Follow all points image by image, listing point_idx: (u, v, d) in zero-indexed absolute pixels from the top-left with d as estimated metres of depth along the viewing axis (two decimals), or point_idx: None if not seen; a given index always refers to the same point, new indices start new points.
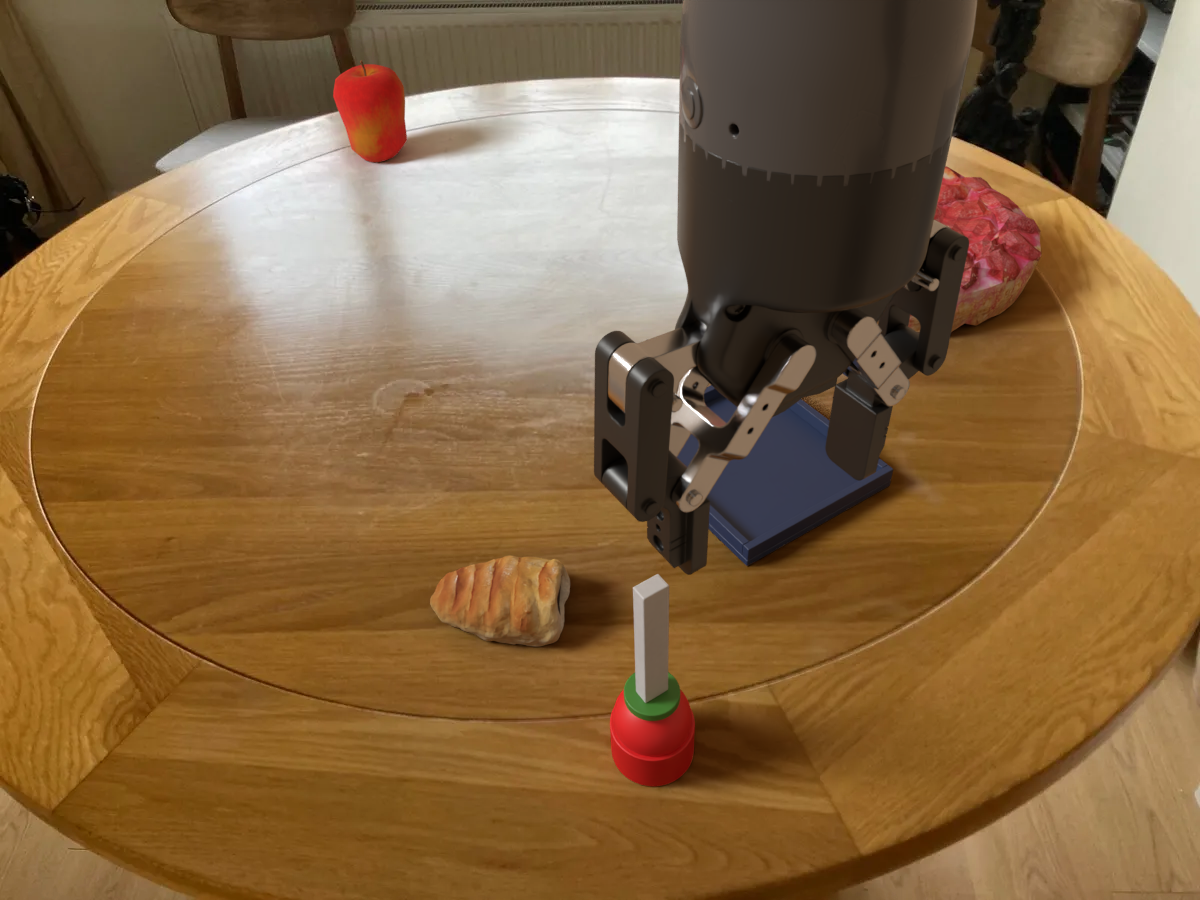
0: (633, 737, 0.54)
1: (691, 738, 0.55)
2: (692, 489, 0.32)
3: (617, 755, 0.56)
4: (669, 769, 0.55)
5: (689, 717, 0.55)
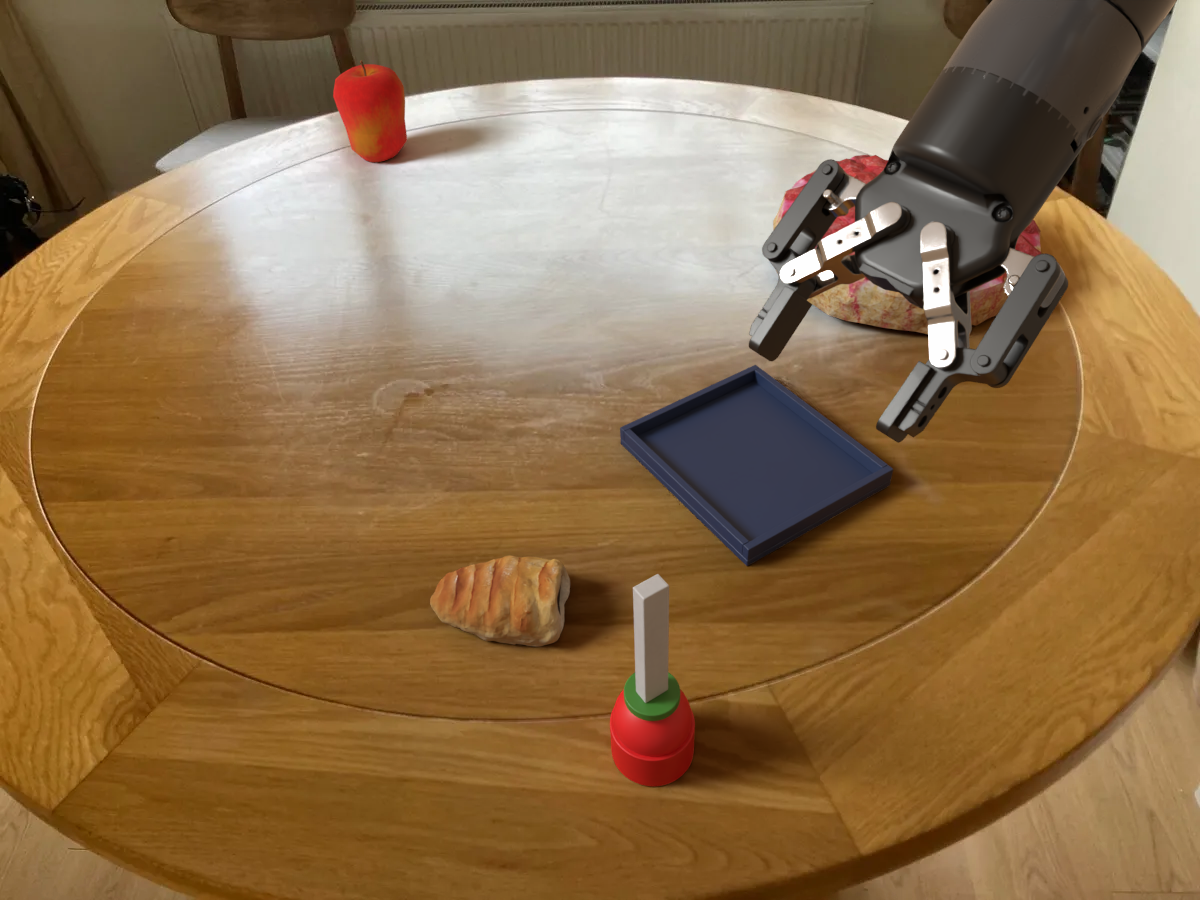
0: (633, 737, 0.54)
1: (691, 738, 0.55)
2: (794, 263, 0.50)
3: (617, 755, 0.56)
4: (669, 769, 0.55)
5: (689, 717, 0.55)
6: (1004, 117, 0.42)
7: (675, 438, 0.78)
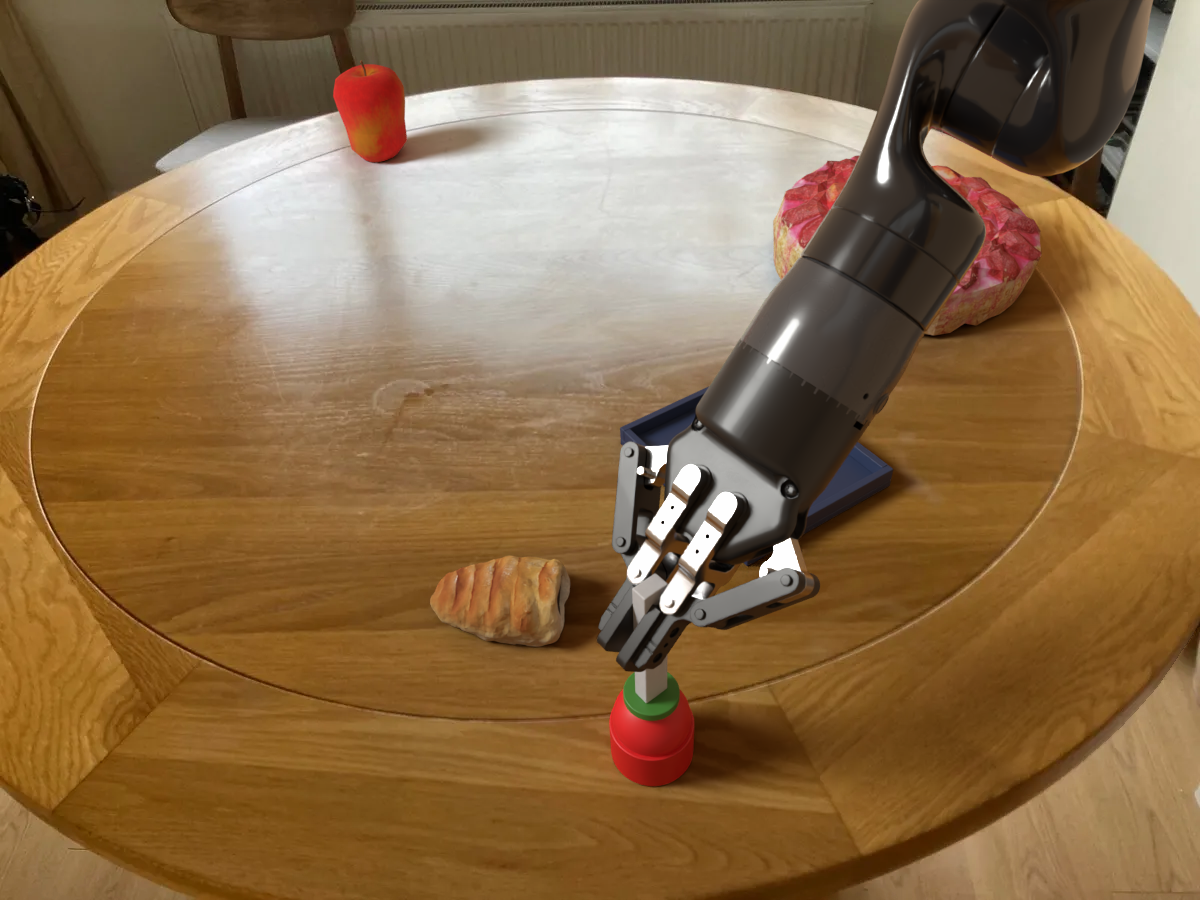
0: (636, 738, 0.54)
1: (692, 734, 0.56)
2: (635, 563, 0.49)
3: (619, 758, 0.56)
4: (673, 767, 0.55)
5: (689, 713, 0.55)
6: (784, 405, 0.43)
7: None
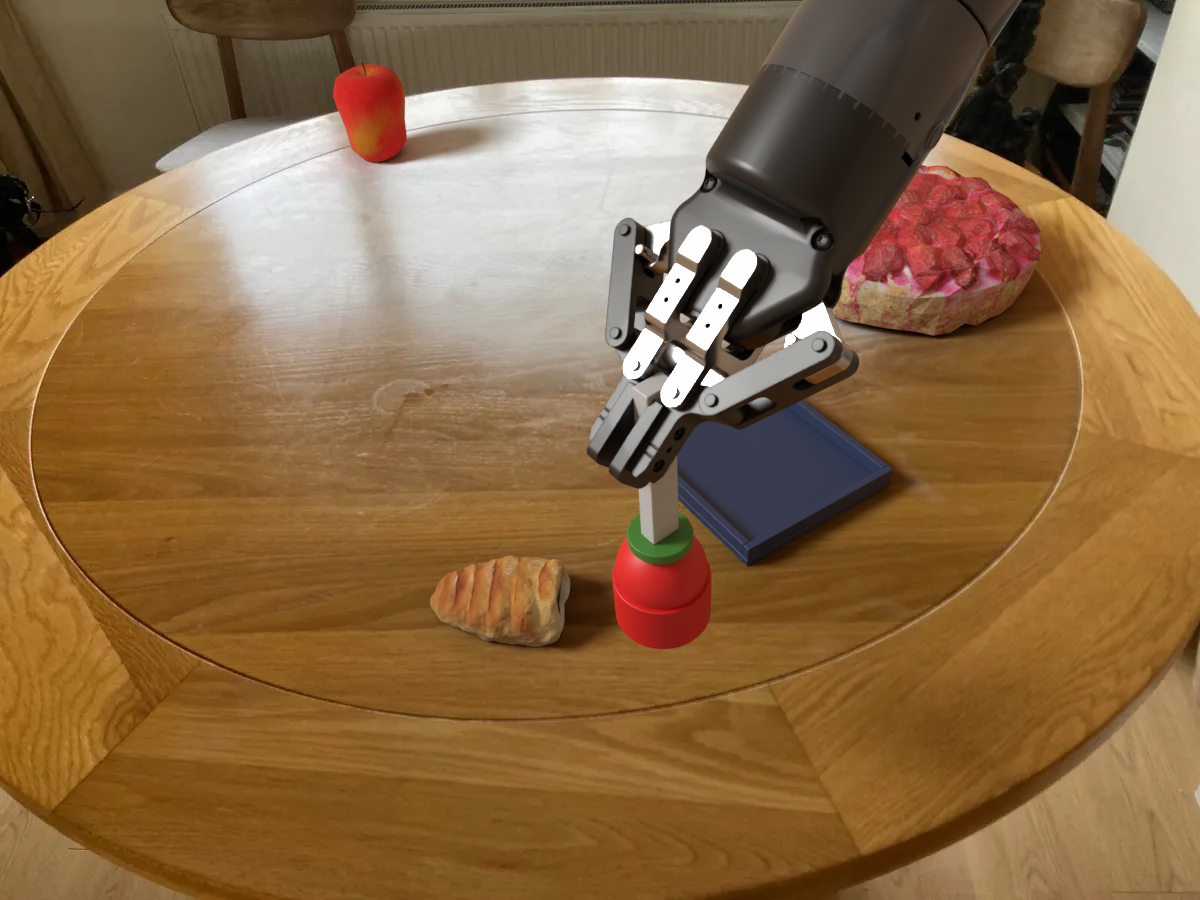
0: (642, 587, 0.46)
1: (709, 586, 0.48)
2: (633, 355, 0.40)
3: (624, 616, 0.48)
4: (687, 624, 0.48)
5: (705, 561, 0.47)
6: (817, 125, 0.35)
7: None
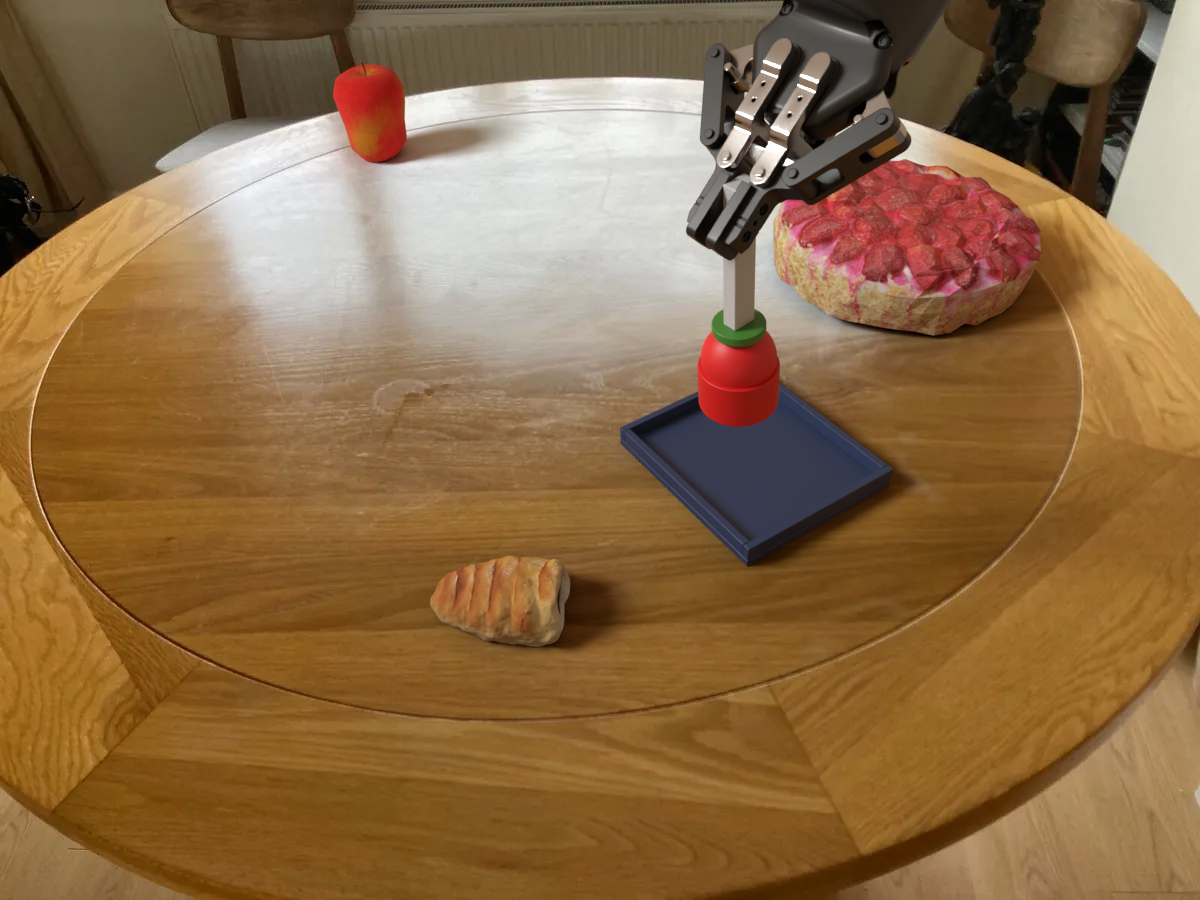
0: (725, 368, 0.56)
1: (778, 371, 0.58)
2: (724, 149, 0.50)
3: (708, 399, 0.59)
4: (761, 402, 0.58)
5: (775, 349, 0.57)
6: None
7: (675, 438, 0.78)
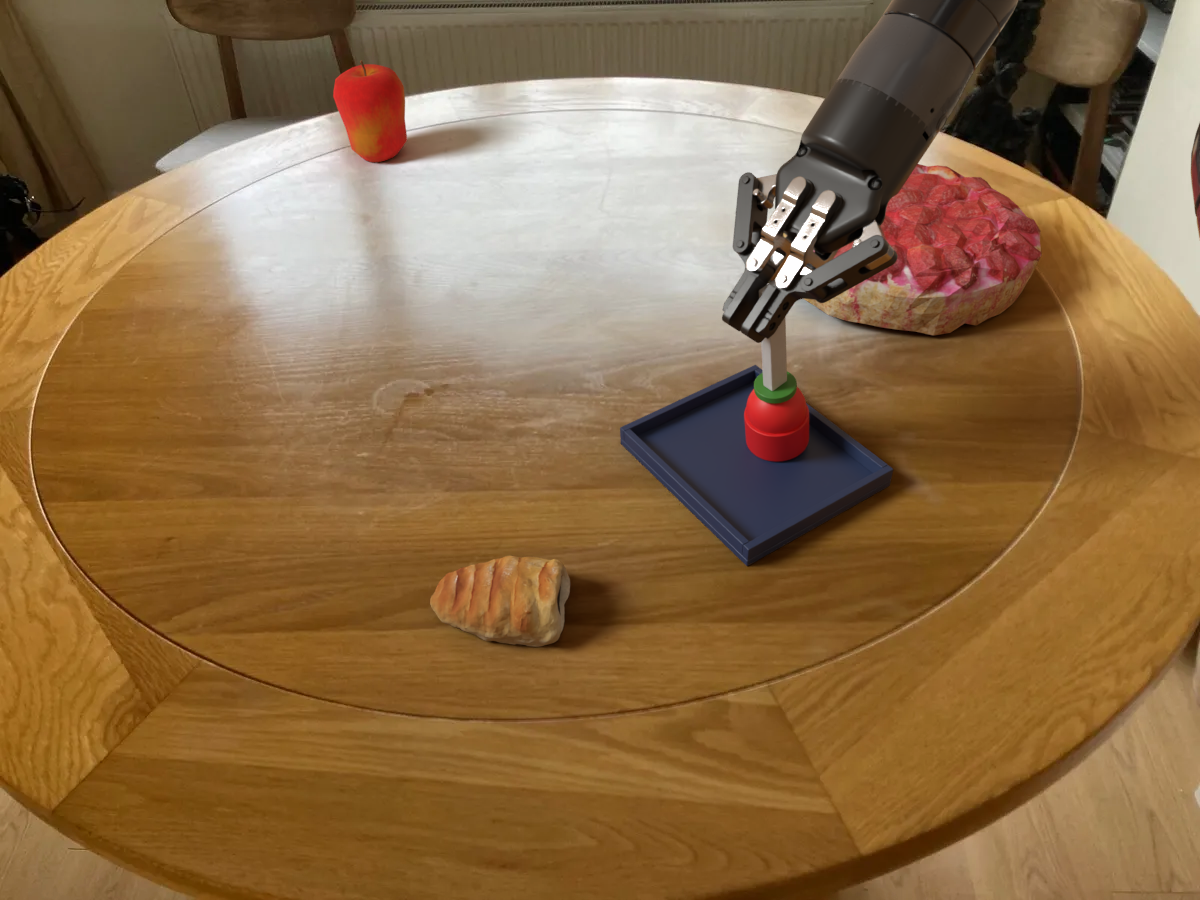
0: (766, 419, 0.73)
1: (808, 418, 0.74)
2: (752, 256, 0.65)
3: (753, 441, 0.75)
4: (795, 443, 0.74)
5: (804, 401, 0.74)
6: (873, 115, 0.60)
7: (675, 438, 0.78)
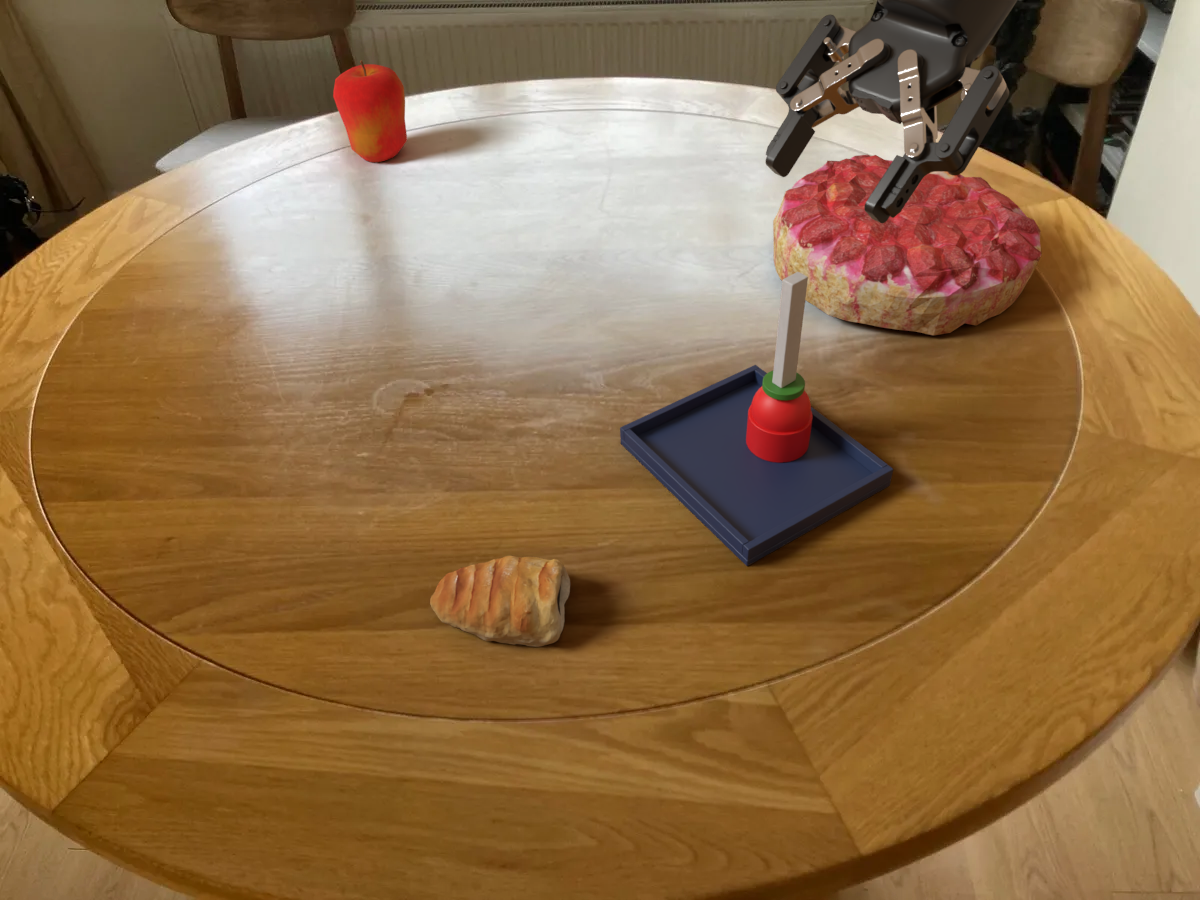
0: (772, 416, 0.73)
1: (811, 421, 0.75)
2: (801, 95, 0.64)
3: (756, 440, 0.75)
4: (797, 444, 0.74)
5: None
6: None
7: (675, 438, 0.78)
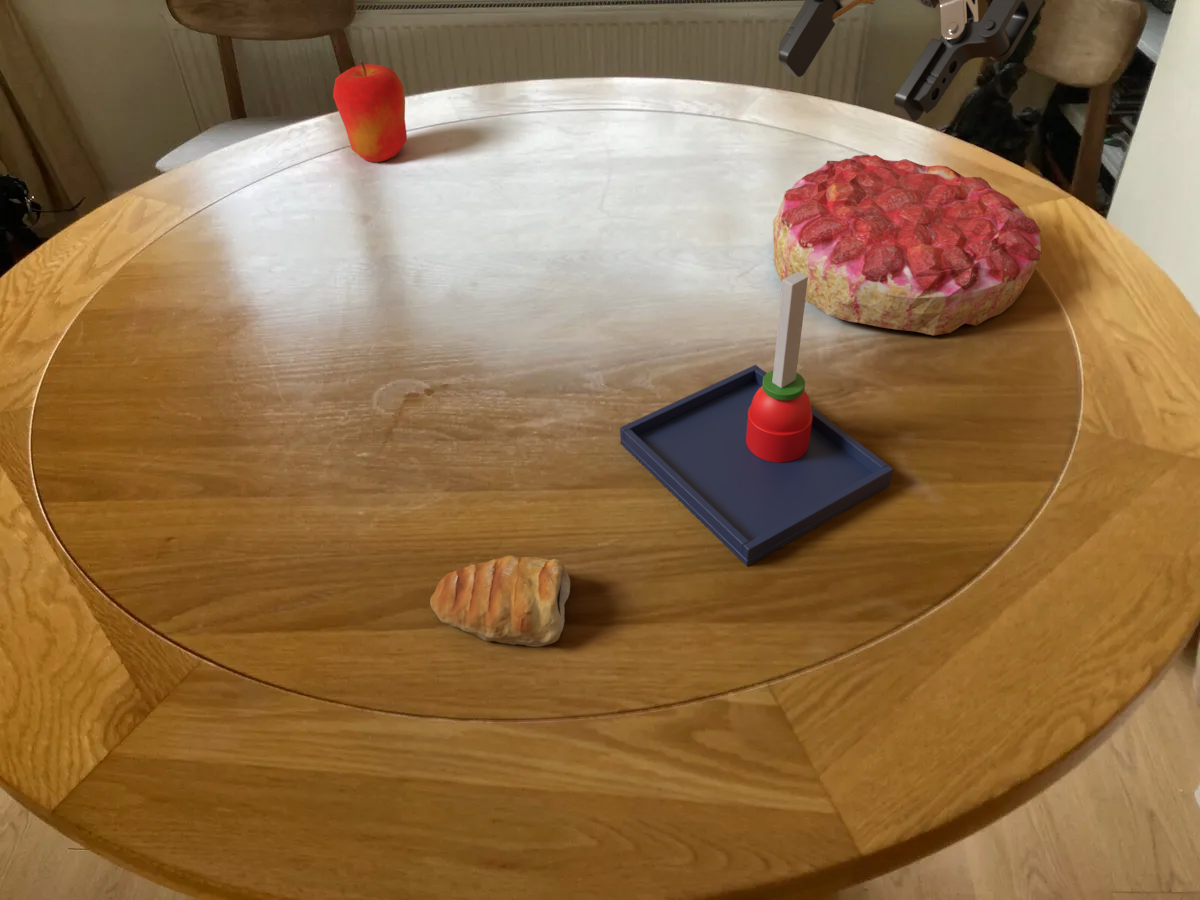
0: (772, 416, 0.73)
1: (811, 421, 0.75)
2: None
3: (756, 440, 0.75)
4: (797, 444, 0.74)
5: None
6: None
7: (675, 438, 0.78)
